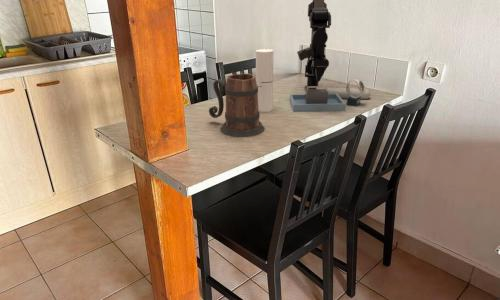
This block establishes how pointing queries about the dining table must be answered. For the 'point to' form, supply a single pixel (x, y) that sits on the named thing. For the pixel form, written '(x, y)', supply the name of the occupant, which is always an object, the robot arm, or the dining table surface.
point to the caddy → (316, 95)
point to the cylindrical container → (264, 79)
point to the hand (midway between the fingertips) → (316, 78)
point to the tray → (332, 104)
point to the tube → (343, 92)
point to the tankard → (238, 106)
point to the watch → (355, 99)
